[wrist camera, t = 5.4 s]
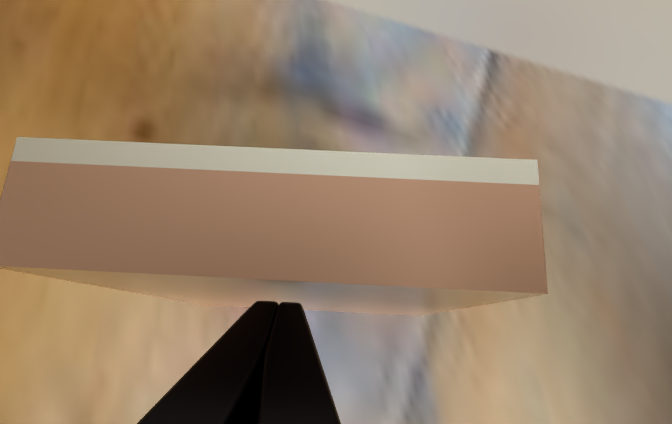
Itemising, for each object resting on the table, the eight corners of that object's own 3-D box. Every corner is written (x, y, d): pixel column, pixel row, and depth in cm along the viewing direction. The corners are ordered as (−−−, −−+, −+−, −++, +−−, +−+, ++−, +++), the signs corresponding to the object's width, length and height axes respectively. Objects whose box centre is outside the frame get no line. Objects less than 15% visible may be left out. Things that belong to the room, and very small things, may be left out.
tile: (418, 316, 16) (547, 293, 6) (200, 304, 16) (-17, 265, 6) (419, 261, 16) (537, 160, 7) (207, 250, 16) (17, 136, 7)
